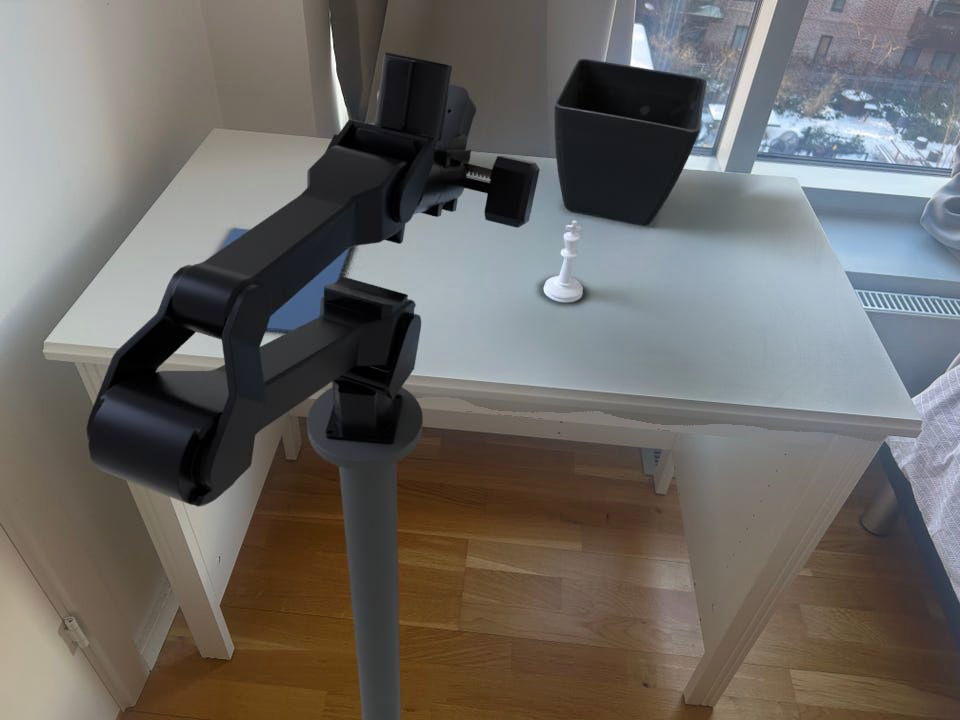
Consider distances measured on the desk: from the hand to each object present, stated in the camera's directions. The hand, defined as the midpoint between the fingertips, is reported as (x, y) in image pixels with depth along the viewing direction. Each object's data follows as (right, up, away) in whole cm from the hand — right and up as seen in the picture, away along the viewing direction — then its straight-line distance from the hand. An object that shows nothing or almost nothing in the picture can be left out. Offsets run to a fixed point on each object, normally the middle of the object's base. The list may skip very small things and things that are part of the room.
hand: (469, 170), depth 81 cm
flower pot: (+21, +3, +31) cm, 38 cm away
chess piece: (+12, -12, +13) cm, 21 cm away
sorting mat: (-24, -11, +11) cm, 29 cm away
